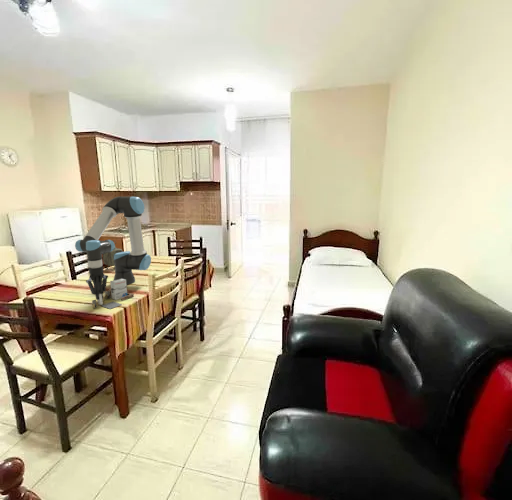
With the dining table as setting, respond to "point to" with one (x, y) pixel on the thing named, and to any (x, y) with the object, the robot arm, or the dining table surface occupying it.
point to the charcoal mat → (111, 305)
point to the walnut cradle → (123, 297)
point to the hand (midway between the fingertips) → (100, 304)
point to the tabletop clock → (110, 257)
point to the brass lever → (107, 295)
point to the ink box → (118, 288)
